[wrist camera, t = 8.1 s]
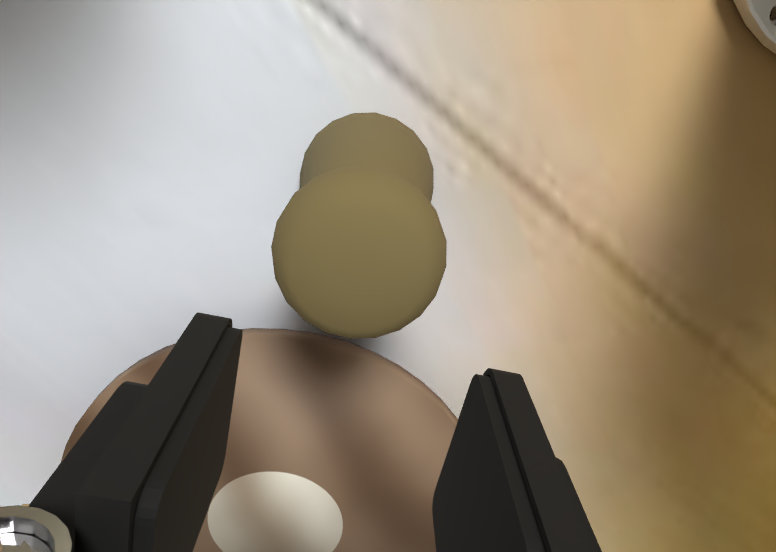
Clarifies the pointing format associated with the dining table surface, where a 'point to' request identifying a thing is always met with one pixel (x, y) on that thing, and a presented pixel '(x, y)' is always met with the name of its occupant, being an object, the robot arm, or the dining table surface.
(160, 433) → the robot arm
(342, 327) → the cork
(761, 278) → the dining table surface
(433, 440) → the turntable
